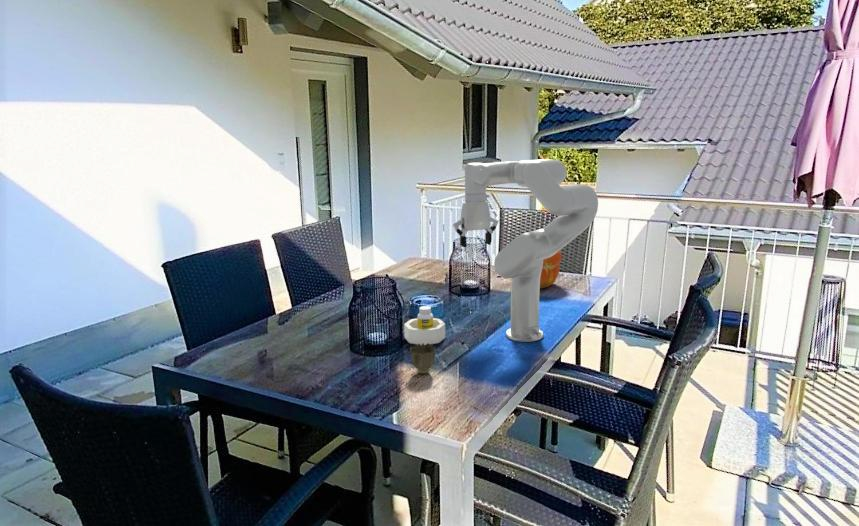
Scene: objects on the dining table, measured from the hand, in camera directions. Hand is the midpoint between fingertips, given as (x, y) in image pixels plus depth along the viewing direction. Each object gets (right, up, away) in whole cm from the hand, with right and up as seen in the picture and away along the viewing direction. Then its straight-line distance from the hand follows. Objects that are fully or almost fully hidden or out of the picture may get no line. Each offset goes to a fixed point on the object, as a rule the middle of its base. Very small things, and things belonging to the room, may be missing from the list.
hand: (475, 245), depth 213 cm
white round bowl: (-18, -32, -10) cm, 38 cm away
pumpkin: (+30, -17, +49) cm, 60 cm away
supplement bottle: (-18, -31, -10) cm, 38 cm away
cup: (-19, -39, -38) cm, 58 cm away
